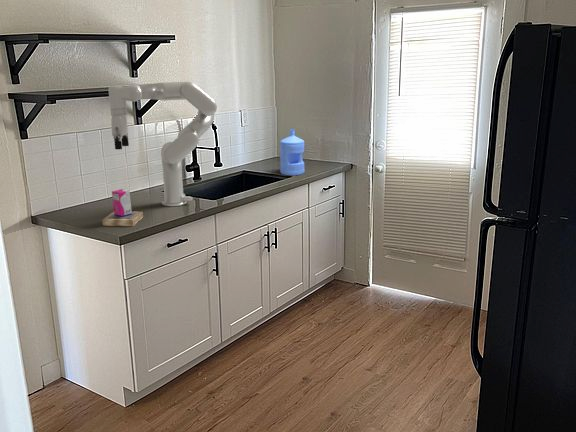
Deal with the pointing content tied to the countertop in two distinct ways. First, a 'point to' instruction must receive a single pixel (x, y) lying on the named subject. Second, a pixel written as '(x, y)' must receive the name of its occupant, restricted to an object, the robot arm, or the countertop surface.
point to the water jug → (292, 155)
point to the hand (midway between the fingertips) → (122, 147)
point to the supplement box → (121, 203)
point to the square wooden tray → (122, 219)
